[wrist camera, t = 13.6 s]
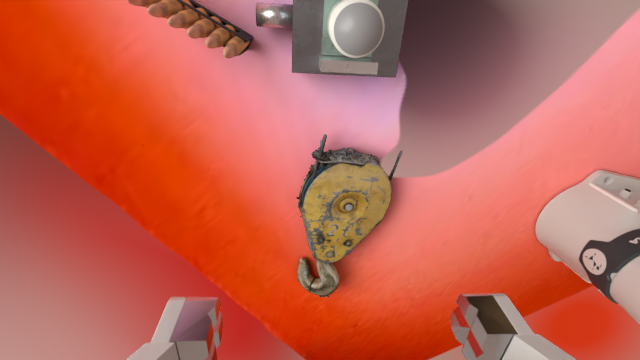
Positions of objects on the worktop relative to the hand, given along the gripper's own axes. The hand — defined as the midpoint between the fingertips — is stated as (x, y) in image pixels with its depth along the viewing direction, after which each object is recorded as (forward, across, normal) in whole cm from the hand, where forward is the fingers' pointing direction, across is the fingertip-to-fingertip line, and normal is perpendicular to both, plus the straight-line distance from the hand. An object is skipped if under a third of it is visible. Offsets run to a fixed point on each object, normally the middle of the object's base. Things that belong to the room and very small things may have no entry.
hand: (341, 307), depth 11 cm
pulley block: (+38, -5, +23) cm, 44 cm away
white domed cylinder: (+31, -4, -7) cm, 32 cm away
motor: (+37, -2, -7) cm, 38 cm away
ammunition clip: (+38, +12, -6) cm, 40 cm away
